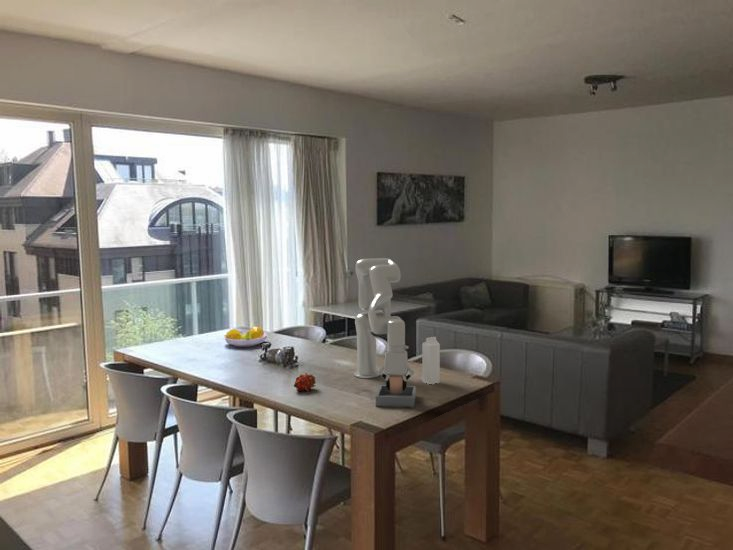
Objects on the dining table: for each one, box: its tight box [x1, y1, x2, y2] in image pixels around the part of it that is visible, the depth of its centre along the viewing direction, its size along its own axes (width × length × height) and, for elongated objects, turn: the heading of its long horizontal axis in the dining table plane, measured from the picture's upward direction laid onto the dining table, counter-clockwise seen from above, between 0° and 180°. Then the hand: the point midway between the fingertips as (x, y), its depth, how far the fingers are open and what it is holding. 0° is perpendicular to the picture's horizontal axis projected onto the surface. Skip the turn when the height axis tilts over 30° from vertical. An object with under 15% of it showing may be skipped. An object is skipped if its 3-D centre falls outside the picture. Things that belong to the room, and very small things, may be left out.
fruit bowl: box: [223, 326, 268, 348], centre depth 363 cm, size 28×27×11 cm
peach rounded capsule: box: [389, 375, 404, 394], centre depth 255 cm, size 6×6×7 cm
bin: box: [375, 384, 417, 408], centre depth 256 cm, size 16×16×4 cm
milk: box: [421, 336, 441, 385], centre depth 282 cm, size 6×6×22 cm
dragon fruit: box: [293, 372, 316, 392], centre depth 272 cm, size 8×8×12 cm
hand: (396, 388), depth 256 cm, fingers closed on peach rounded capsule, 6 cm apart
